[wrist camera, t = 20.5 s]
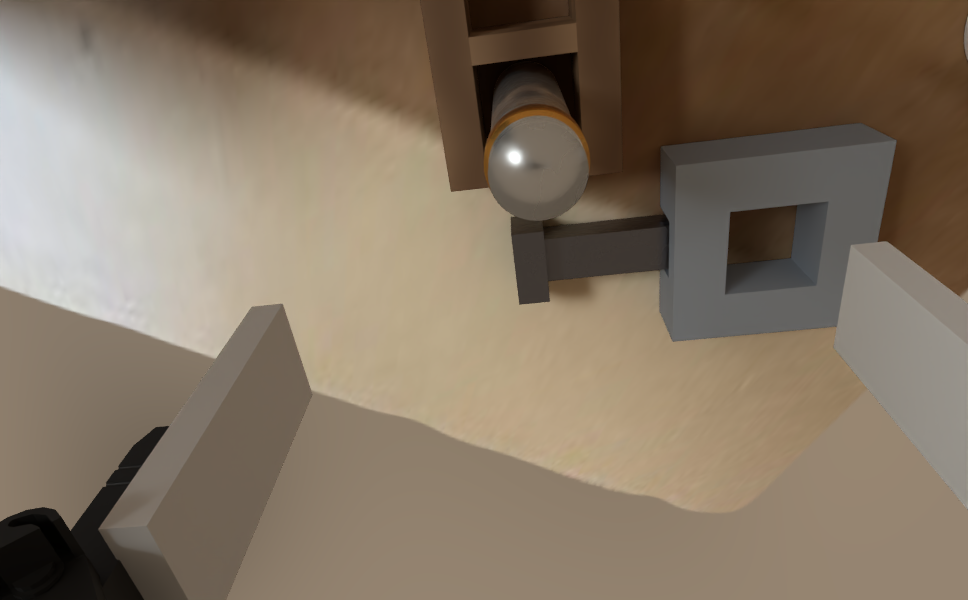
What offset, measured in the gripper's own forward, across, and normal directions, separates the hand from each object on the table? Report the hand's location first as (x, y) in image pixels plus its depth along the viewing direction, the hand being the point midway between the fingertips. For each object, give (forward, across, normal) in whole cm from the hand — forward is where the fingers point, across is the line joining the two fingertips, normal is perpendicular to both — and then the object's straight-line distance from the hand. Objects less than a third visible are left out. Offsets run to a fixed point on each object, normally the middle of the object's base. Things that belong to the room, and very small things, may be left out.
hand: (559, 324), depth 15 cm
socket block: (+26, +14, -10) cm, 32 cm away
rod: (+26, 0, 0) cm, 27 cm away
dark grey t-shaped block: (+26, +3, -10) cm, 28 cm away
